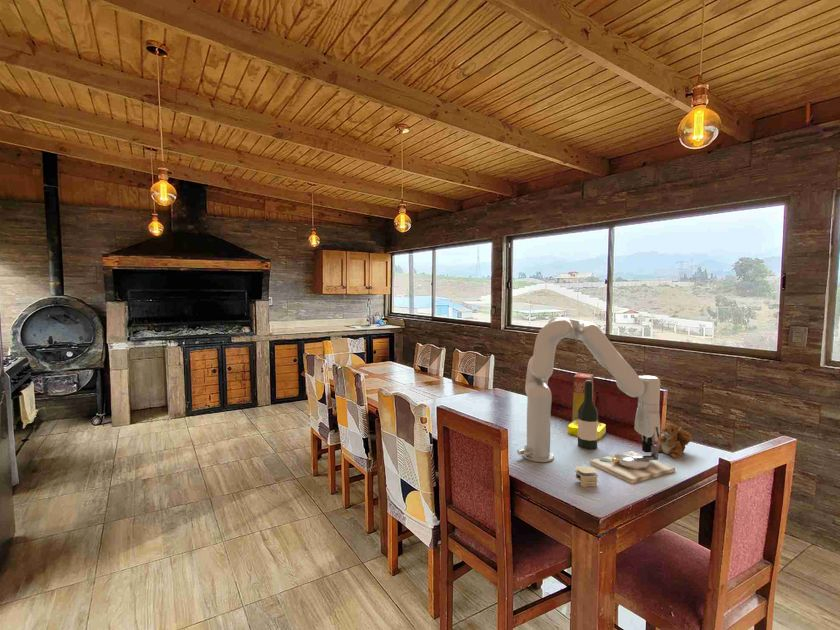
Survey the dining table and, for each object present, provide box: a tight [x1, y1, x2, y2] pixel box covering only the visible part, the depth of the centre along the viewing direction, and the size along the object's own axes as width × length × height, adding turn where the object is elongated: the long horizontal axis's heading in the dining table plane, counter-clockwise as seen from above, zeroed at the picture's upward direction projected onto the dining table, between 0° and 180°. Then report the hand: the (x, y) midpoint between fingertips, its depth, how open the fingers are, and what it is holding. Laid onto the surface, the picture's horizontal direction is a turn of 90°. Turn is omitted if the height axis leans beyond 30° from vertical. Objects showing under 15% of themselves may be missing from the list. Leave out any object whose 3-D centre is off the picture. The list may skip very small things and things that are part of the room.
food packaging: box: [571, 372, 595, 422], centre depth 221 cm, size 13×9×25 cm
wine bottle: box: [577, 380, 599, 451], centre depth 183 cm, size 8×8×30 cm
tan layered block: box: [574, 465, 599, 488], centre depth 148 cm, size 10×9×6 cm
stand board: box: [589, 450, 676, 484], centre depth 161 cm, size 24×19×2 cm
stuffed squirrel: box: [658, 421, 693, 459], centre depth 176 cm, size 10×14×13 cm
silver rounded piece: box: [612, 443, 659, 470], centre depth 161 cm, size 19×12×7 cm, turn 95°
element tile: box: [567, 419, 607, 441], centre depth 202 cm, size 15×15×5 cm
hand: (647, 451), depth 166 cm, fingers closed
